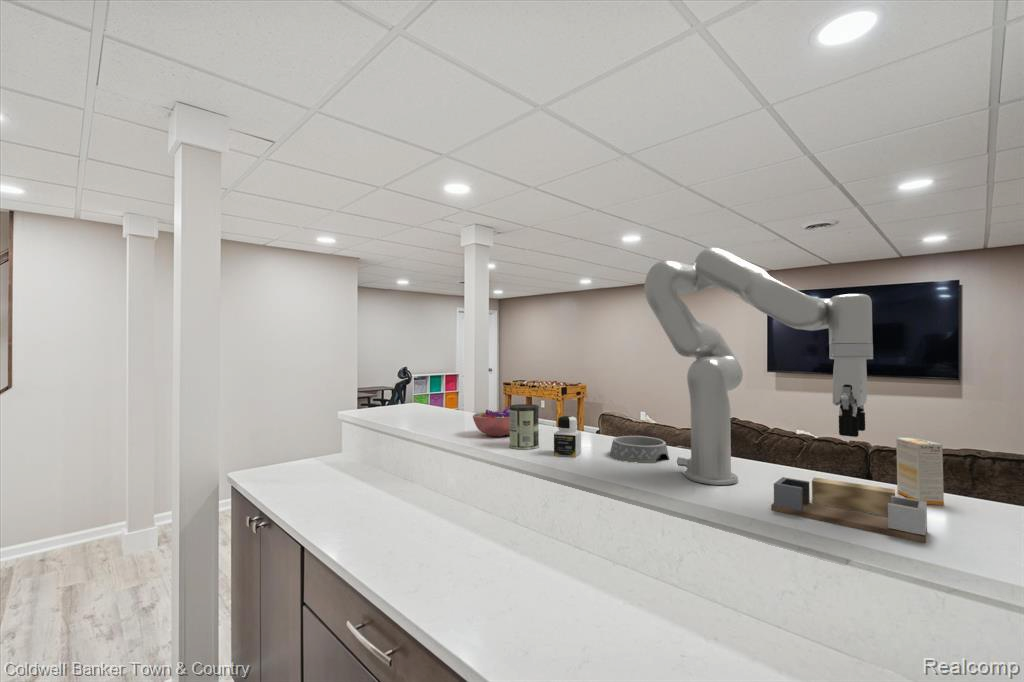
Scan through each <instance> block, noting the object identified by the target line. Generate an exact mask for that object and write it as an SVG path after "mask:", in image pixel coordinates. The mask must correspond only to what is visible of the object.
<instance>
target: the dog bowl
mask: <svg viewBox="0 0 1024 682" xmlns="http://www.w3.org/2000/svg"><path fill="white" fill-rule="evenodd" d="M664 454H665V455H664ZM662 455H664V456H666V455H667V456H666V457H667V459H668V460H670V456H669V452H668V446H667V443H666V441H664V440H663V439H661V438H658V437H653V436H652V437H650V436H645V435H644V436H643V435H622V436H617V437H614V438H613V440H612V443H611V447H610V452H609V457H610V456H611V457H610V458H612V459H613V458H614V459H613V460H616V459H617V461H620V460H621V461H620V462H624V461H628V462H627V463H631V462H637V463H636V464H656V463H657V460H658V459H660V458H662Z"/></svg>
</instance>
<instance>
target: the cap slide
mask: <svg viewBox="0 0 1024 682" xmlns="http://www.w3.org/2000/svg"><path fill="white" fill-rule="evenodd" d="M927 506H928V504H927V501H921V500H915V499H910V498H908V497H905V496H898V495H895V496H891V503H888V516H887V518H888V528H892V529H897V530H902V531H907V532H911V533H916V534H921V535H925V534H926V528H927V529H928V511H927V510H928V507H927Z"/></svg>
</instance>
